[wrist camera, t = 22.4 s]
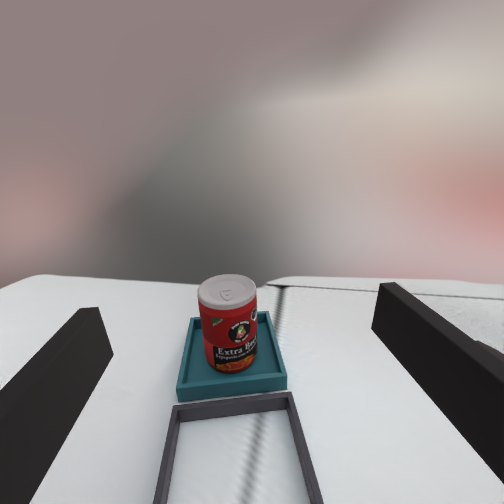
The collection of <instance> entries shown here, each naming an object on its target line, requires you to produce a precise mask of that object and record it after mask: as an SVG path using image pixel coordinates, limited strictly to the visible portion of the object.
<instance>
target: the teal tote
mask: <svg viewBox="0 0 504 504" xmlns="http://www.w3.org/2000/svg"><path fill="white" fill-rule="evenodd" d="M257 346H258V348H257V353H256V356H255V359H254V361H253V362H252V364H251V365H250V366H249V367H247V368H246V369H245V370H242V371H240V372H237V373H222V372H219V371H217V370H215V369H214V368H213V367H212V366H211V365H210V364H209V362H208V360H207V358H206V355H205V348H204V341H203V333H202V326H201V319H200V317H194V318H191V319H190V323H189V328H188V333H187V338H186V343H185V347H184V352H183V357H182V362H181V366H180V371H179V376H178V381H177V386H176V392H177V396H178V402H185V401H193V400H202V399H210V398H218V397H226V396H235V395H243V394H251V393H259V392H268V391H276V390H284V389H287V373H286V370H285V366H284V363H283V359H282V356H281V352H280V349H279V346H278V342H277V339H276V335H275V332H274V328H273V325H272V322H271V318H270V315H269V311H261V312H257Z"/></svg>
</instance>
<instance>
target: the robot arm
mask: <svg viewBox="0 0 504 504" xmlns="http://www.w3.org/2000/svg"><path fill="white" fill-rule="evenodd" d="M371 329H372V330H373V332H374V333H375V334H376V335H377V336H378V337H379V339H380V340H381V341H382V342H383V343H384V344H385V346H386V347H387V348H388V349H389V350H390V352H391V353H392V354H393V355H394V356H395V357H396V359H397V360H398V361H399V362H400V363H401V364H402V366H403V367H404V368H405V369H406V370H407V371H408V373H409V374H410V375H411V376H412V377H413V378H414V380H415V381H416V382H417V383H418V384H419V385H420V387H421V388H422V389H423V390H424V391H425V392H426V394H427V395H428V396H429V397H430V398H431V400H432V401H433V402H434V403H435V404H436V405H437V407H438V408H439V409H440V410H441V411H442V412H443V414H444V415H445V416H446V417H447V418H448V419H449V421H450V422H451V423H452V424H453V425H454V426H455V428H456V429H457V430H458V431H459V432H460V433H461V435H462V436H463V437H464V438H465V439H466V440H467V442H468V443H469V444H470V445H471V446H472V447H473V449H474V450H475V451H476V452H477V453H478V455H479V456H480V457H481V458H482V459H483V460H484V462H485V463H486V464H487V465H488V466H489V467H490V469H491V470H492V471H493V472H494V473H495V474H496V476H497V477H498V478H499V479H500V480H501V481H502V483H503V484H504V354H502V353H501V352H499V351H498V350H496V349H494V348H492V347H490V346H488V345H486V344H484V343H482V342H480V341H474V340H473V339H472V338H470V337H469V336H468V335H466V334H465V333H464V332H462V331H461V330H459V329H458V328H457V327H455V326H454V325H453V324H451V323H450V322H449V321H447V320H446V319H444V318H443V317H442V316H440V315H439V314H438V313H436V312H435V311H434V310H432V309H431V308H429V307H428V306H427V305H425V304H424V303H423V302H421V301H420V300H418V299H417V298H416V297H414V296H413V295H412V294H410V293H409V292H408V291H406V290H405V289H403V288H402V287H401V286H399V285H398V284H397V283H395V282H391V283H380V286H379V291H378V296H377V301H376V306H375V312H374V317H373V322H372V327H371ZM113 355H114V354H113V351H112V348H111V345H110V342H109V339H108V336H107V333H106V329H105V326H104V323H103V320H102V317H101V314H100V311H99V308H98V307H90V308H80V309H79V310H78V311H77V312H76V313H75V314H74V315H73V316H72V317H71V318H70V319H69V320H68V321H67V322H66V323H65V324H64V325H63V326H62V327H61V328H60V329H59V330H58V331H57V332H56V333H55V335H54V336H53V337H52V338H51V339H50V340H49V341H48V342H47V343H46V344H45V345H44V346H43V347H42V348H41V349H40V350H39V351H38V352H37V353H36V354H35V355H34V356H33V357H32V358H31V359H30V360H29V361H28V362H27V363H26V364H25V365H24V367H23V368H22V369H21V370H20V371H19V372H18V373H17V374H16V375H15V376H14V377H13V378H12V379H11V380H10V381H9V382H8V383H7V384H6V385H5V386H4V387H3V388H2V389H1V390H0V504H29V503H30V501H31V499H32V498H33V496H34V494H35V492H36V491H37V489H38V487H39V485H40V484H41V482H42V480H43V478H44V477H45V475H46V473H47V471H48V470H49V468H50V466H51V464H52V463H53V461H54V459H55V457H56V455H57V454H58V452H59V450H60V448H61V447H62V445H63V443H64V441H65V440H66V438H67V436H68V434H69V433H70V431H71V429H72V427H73V426H74V424H75V422H76V420H77V418H78V417H79V415H80V413H81V411H82V410H83V408H84V406H85V404H86V403H87V401H88V399H89V397H90V396H91V394H92V392H93V390H94V389H95V387H96V385H97V383H98V381H99V380H100V378H101V376H102V374H103V373H104V371H105V369H106V367H107V366H108V364H109V362H110V360H111V359H112V357H113Z"/></svg>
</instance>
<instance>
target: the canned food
mask: <svg viewBox="0 0 504 504" xmlns="http://www.w3.org/2000/svg"><path fill="white" fill-rule="evenodd" d="M198 304H199V311H200V319H201V326H202V333H203V341H204V348H205V355H206V358H207V360H208V362H209V364H210V365H211V366H212V367H213V368H214V369H215V370H217V371H219V372H222V373H237V372H240V371H242V370H245V369H246V368H247V367H249V366H250V365H251V364H252V362H253V361H254V359H255V356H256V353H257V348H258V346H257V297H256V286H255V284H254V282H253V281H252V280H251V279H249V278H247V277H245V276H242V275H236V274H224V275H219V276H215V277H212V278H209V279H208V280H206V281H205V282H203V283H202V284H201V285H200V286H199V288H198Z"/></svg>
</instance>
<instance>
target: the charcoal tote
mask: <svg viewBox="0 0 504 504" xmlns="http://www.w3.org/2000/svg"><path fill="white" fill-rule="evenodd" d="M280 409H287V411H288V414H289V418H290V422H291V426H292V430H293V434H294V438H295V442H296V446H297V450H298V454H299V458H300V462H301V466H302V470H303V474H304V478H305V482H306V486H307V490H308V494H309V498H310V502H311V504H324V503H323V499H322V496H321V492H320V489H319V486H318V482H317V479H316V475H315V472H314V468H313V465H312V461H311V458H310V454H309V451H308V448H307V444H306V441H305V437H304V434H303V430H302V427H301V423H300V420H299V416H298V413H297V410H296V406H295V403H294V399H293V396H292V392H282V393H274V394H266V395H258V396H249V397H241V398H233V399H225V400H216V401H208V402H200V403H192V404H184V405H179V406H178V405H175V406H173V409H172V413H171V418H170V423H169V428H168V433H167V438H166V443H165V447H164V452H163V457H162V462H161V467H160V472H159V477H158V482H157V486H156V491H155V496H154V501H153V504H167V498H168V492H169V486H170V480H171V474H172V468H173V462H174V456H175V450H176V444H177V438H178V432H179V426H180V422H186V421H194V420H202V419H210V418H217V417H225V416H233V415H241V414H249V413H256V412H264V411H272V410H280Z"/></svg>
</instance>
